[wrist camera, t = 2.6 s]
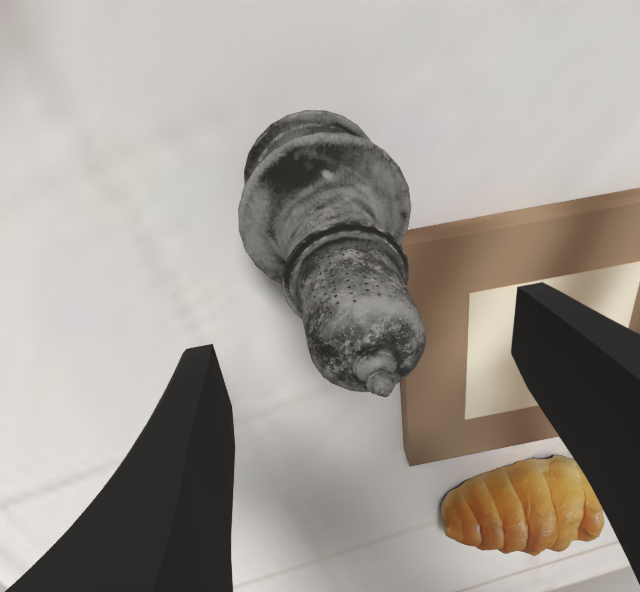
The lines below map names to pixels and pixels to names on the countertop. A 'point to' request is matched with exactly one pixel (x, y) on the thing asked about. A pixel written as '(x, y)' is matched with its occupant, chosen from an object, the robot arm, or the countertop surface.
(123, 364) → the countertop surface
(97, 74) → the countertop surface
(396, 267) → the salt shaker
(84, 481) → the countertop surface
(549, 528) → the pastry
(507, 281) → the walnut board
